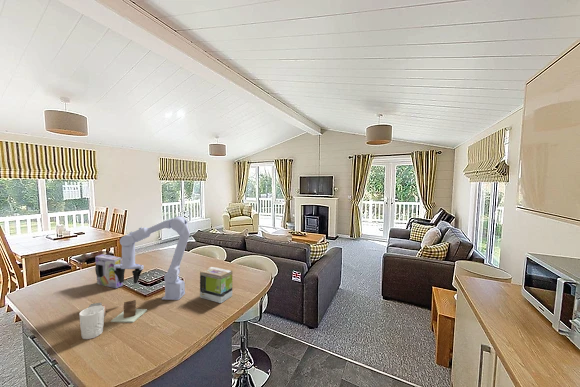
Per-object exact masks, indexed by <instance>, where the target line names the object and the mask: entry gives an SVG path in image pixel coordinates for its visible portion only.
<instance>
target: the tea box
mask: <svg viewBox="0 0 580 387" xmlns="http://www.w3.org/2000/svg"><path fill="white" fill-rule="evenodd" d="M232 296H233V270H232V269H227V268H222V267H217V266H216V267H215V266H210V267H208V268H206V269H203V270H201V271H200V272H199V298H201V299H204V300H208V301H210V302H211V301H212V302H214V303H219V304H222V303H224V302H225V301H227V300H228V299H230V298H231V297H232Z"/></svg>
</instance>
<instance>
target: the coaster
mask: <svg viewBox="0 0 580 387" xmlns="http://www.w3.org/2000/svg"><path fill="white" fill-rule="evenodd" d="M147 311H148V309H147V308H136V315H135V316H131V317H127V318H124V310H123V311H122V312H121V313H119V314H118V315H117V316H115V317H114V318H112V319H111V320H110V322H111V323H133V324H134V323H135V321H137V320H138V319H139V318H140V317H141V316H143V314H145V313H146V312H147Z"/></svg>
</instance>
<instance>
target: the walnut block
mask: <svg viewBox="0 0 580 387" xmlns="http://www.w3.org/2000/svg"><path fill="white" fill-rule="evenodd" d="M136 305H137V302H136V299H133V300H128V301H124V302H123V311H124V318H127V317H131V316H135V315H136V309H137V306H136Z"/></svg>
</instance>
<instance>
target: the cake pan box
mask: <svg viewBox="0 0 580 387" xmlns="http://www.w3.org/2000/svg"><path fill="white" fill-rule="evenodd" d="M94 258H95V274H96V285H99V286H104V287H109V288H112V289H119V288H122V287H124V282H122V283H120V282H119V279H118V277H117V275H116V274H115V273H114V271H115V270H116V269H114V265H116V264H122V256H121V257H119V256H114V255H110V254H98V255H96V256H95V257H94Z"/></svg>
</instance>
